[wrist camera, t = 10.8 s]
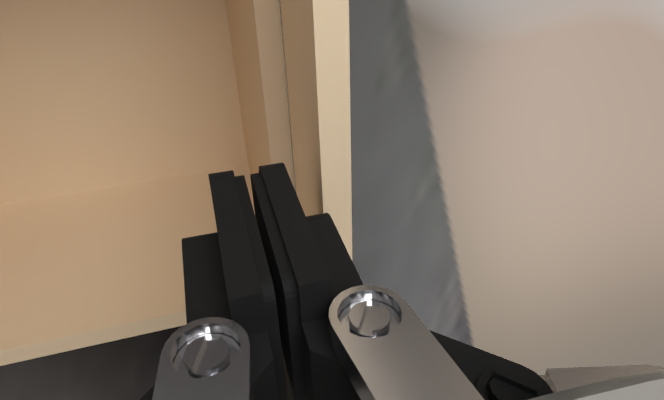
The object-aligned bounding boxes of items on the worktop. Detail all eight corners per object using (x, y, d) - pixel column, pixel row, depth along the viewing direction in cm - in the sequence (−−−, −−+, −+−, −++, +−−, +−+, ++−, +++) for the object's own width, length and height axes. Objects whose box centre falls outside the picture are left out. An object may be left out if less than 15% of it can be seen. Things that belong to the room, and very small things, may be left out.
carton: (-257, -252, 19) (-682, -349, 9) (208, -253, 22) (251, -325, 12) (-22, 216, 30) (-102, 388, 20) (261, 168, 33) (304, 298, 24)
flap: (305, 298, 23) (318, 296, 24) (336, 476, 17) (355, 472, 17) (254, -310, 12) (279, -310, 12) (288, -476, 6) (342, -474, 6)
